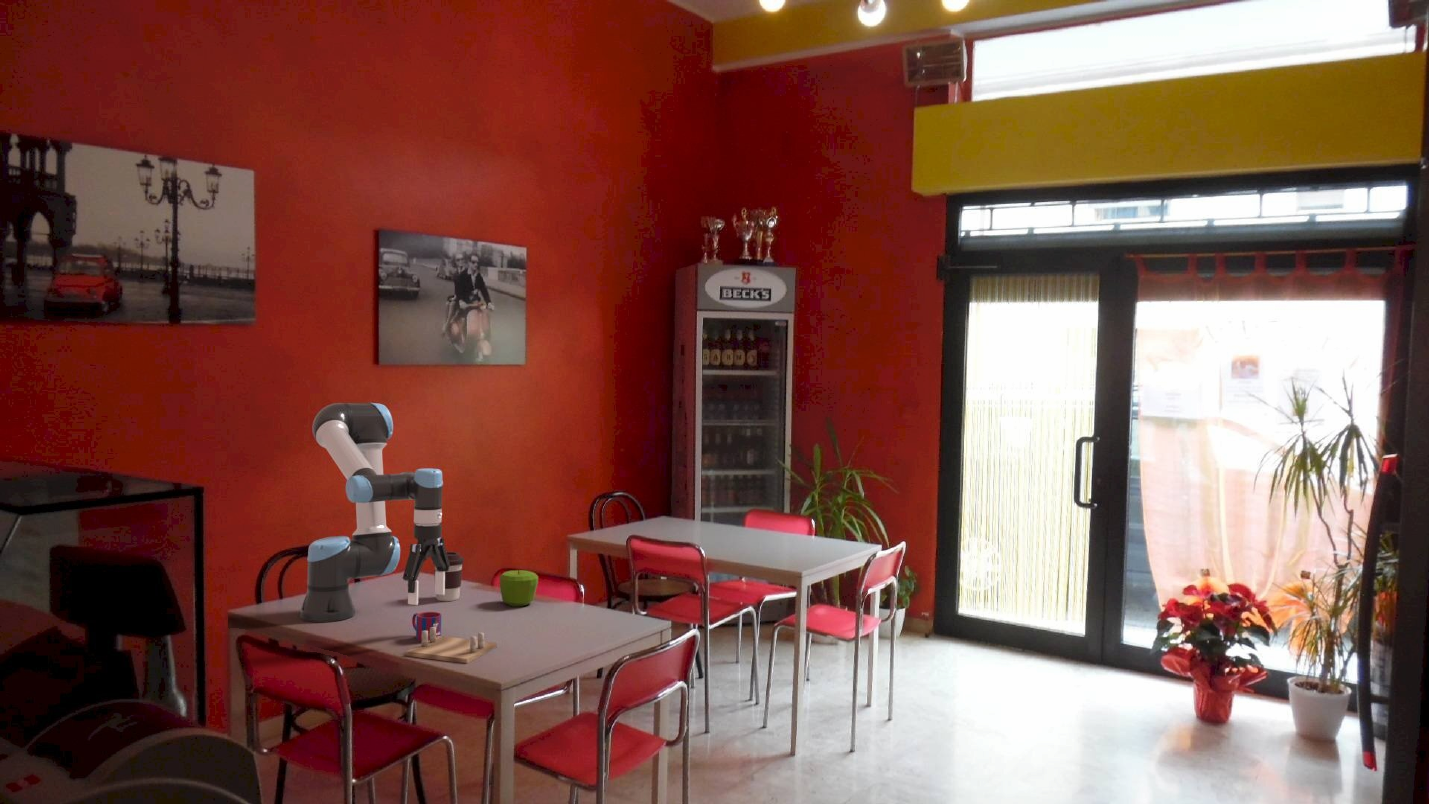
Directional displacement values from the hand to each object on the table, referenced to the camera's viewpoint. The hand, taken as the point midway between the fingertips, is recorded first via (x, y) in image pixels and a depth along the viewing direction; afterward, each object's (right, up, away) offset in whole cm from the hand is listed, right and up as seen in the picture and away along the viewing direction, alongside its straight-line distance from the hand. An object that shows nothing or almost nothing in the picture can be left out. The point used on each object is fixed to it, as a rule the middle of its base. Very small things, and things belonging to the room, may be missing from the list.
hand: (426, 599), depth 275 cm
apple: (+17, -10, +42) cm, 47 cm away
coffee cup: (-7, -9, +46) cm, 47 cm away
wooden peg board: (+10, -12, -12) cm, 20 cm away
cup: (-1, -11, +1) cm, 11 cm away
